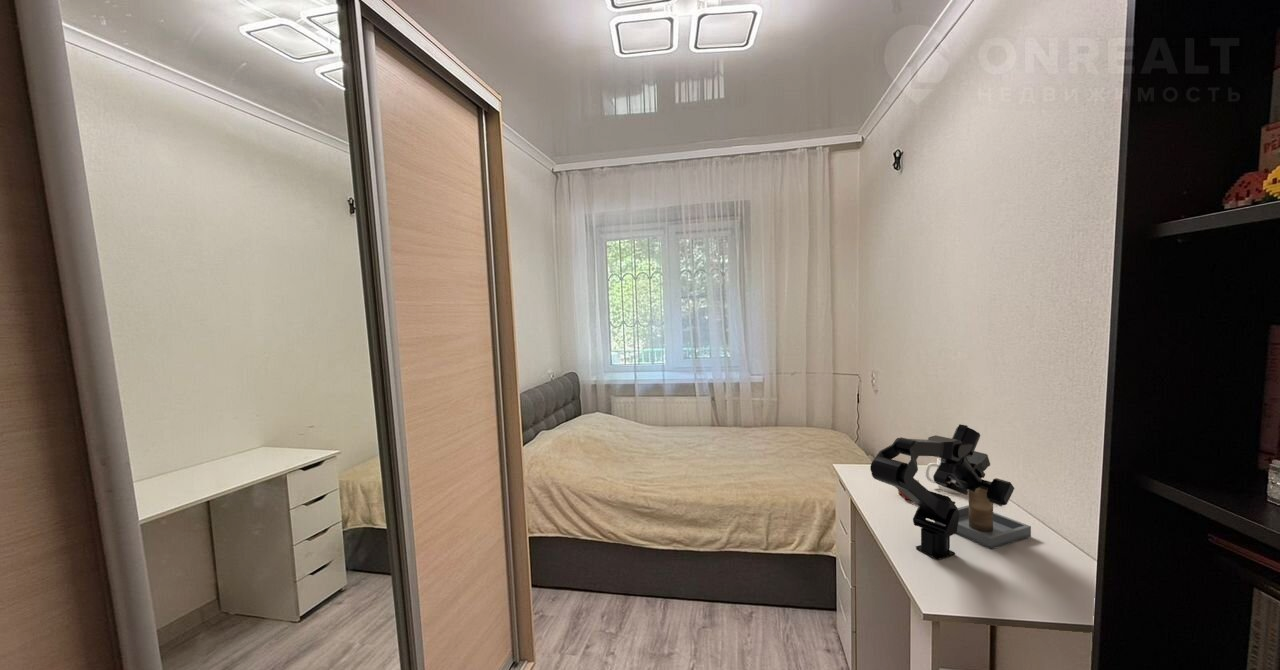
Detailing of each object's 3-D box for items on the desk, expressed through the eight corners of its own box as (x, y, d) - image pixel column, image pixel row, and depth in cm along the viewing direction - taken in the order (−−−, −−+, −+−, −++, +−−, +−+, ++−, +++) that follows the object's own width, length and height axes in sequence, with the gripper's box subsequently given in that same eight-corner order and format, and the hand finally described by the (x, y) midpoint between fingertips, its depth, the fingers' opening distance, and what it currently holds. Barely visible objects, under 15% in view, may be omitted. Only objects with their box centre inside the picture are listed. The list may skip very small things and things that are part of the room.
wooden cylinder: (997, 532, 130) (997, 486, 130) (975, 531, 131) (975, 486, 130) (985, 523, 136) (985, 479, 135) (964, 522, 137) (964, 479, 136)
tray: (991, 549, 123) (991, 538, 123) (934, 523, 138) (934, 514, 138) (1030, 536, 129) (1030, 526, 128) (972, 513, 144) (972, 504, 143)
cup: (969, 494, 157) (969, 465, 157) (928, 491, 161) (928, 462, 161) (961, 485, 165) (961, 457, 165) (922, 482, 169) (922, 455, 169)
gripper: (1010, 453, 122) (1033, 486, 127) (939, 436, 139) (961, 466, 144) (992, 488, 119) (1017, 521, 124) (922, 467, 136) (946, 496, 141)
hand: (983, 498), depth 134 cm, fingers open, 9 cm apart
